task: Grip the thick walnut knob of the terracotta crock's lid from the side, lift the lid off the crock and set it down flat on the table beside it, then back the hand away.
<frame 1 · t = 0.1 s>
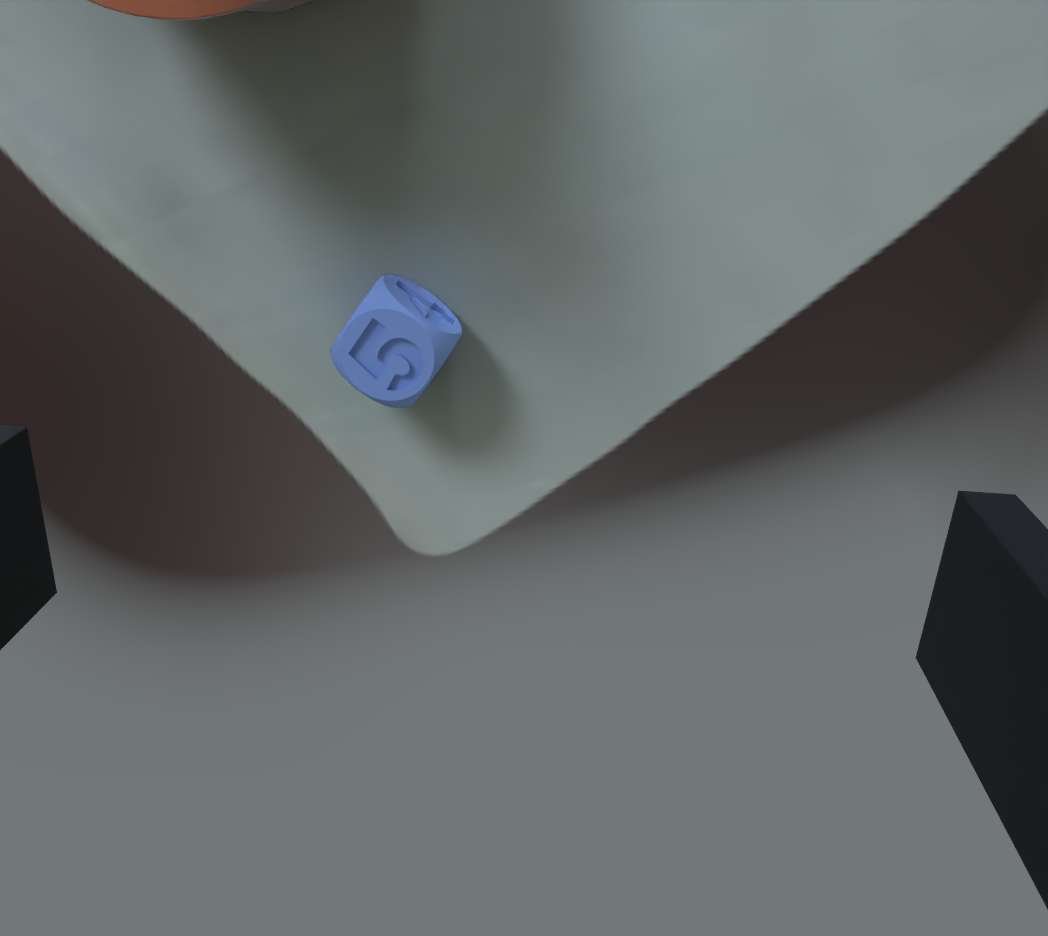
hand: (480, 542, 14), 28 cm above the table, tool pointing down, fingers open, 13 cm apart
decorative dice: (406, 327, 42), on the table
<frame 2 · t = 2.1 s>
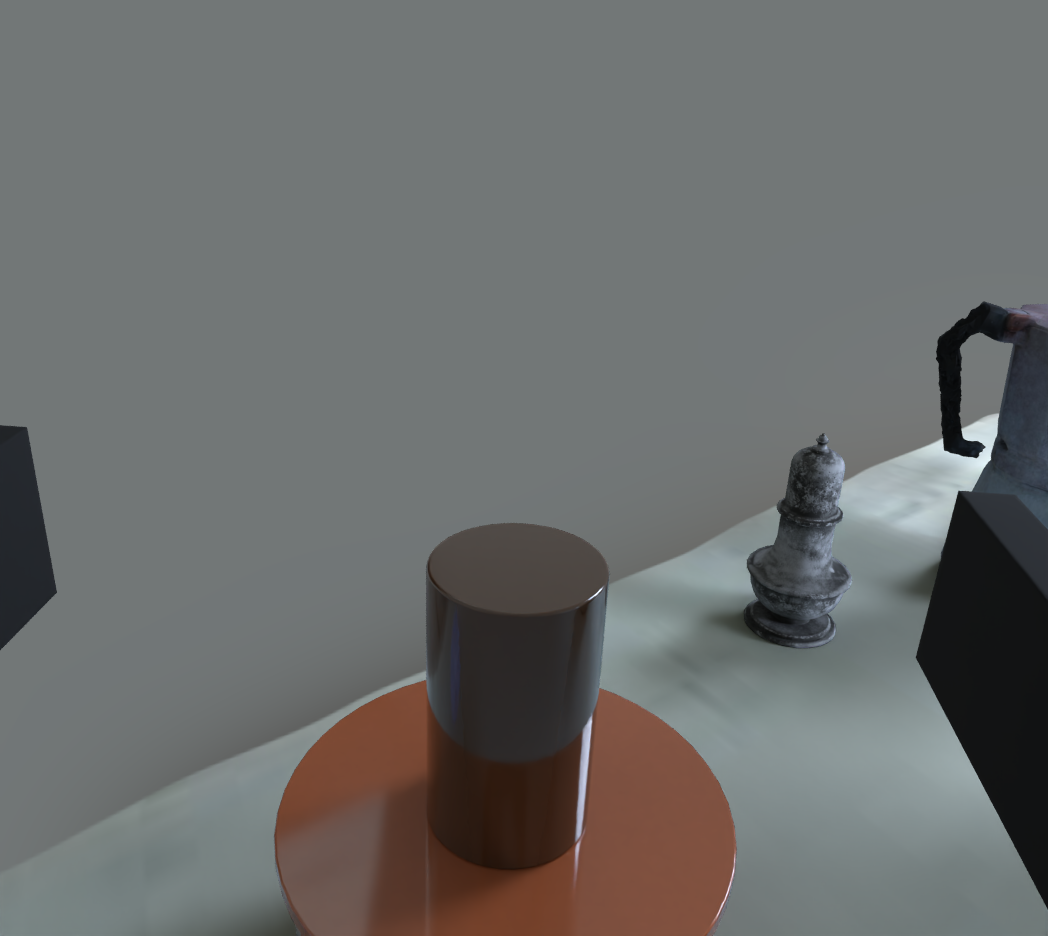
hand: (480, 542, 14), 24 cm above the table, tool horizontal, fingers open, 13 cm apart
moka pot: (1006, 589, 61), on the table
lid: (506, 820, 31), point 7 cm above the table, touching pot
salt shaker: (788, 624, 56), on the table
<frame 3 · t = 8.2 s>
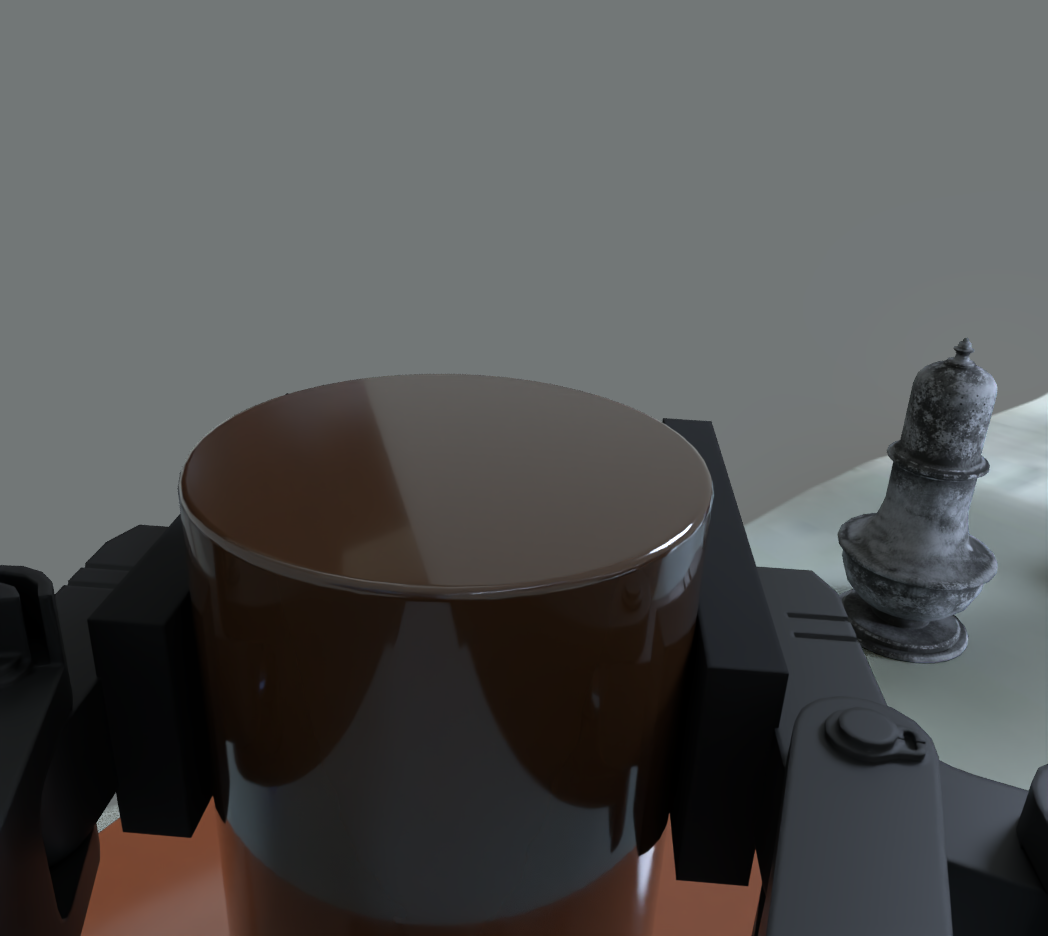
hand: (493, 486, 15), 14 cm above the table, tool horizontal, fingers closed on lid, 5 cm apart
salt shaker: (896, 628, 39), on the table
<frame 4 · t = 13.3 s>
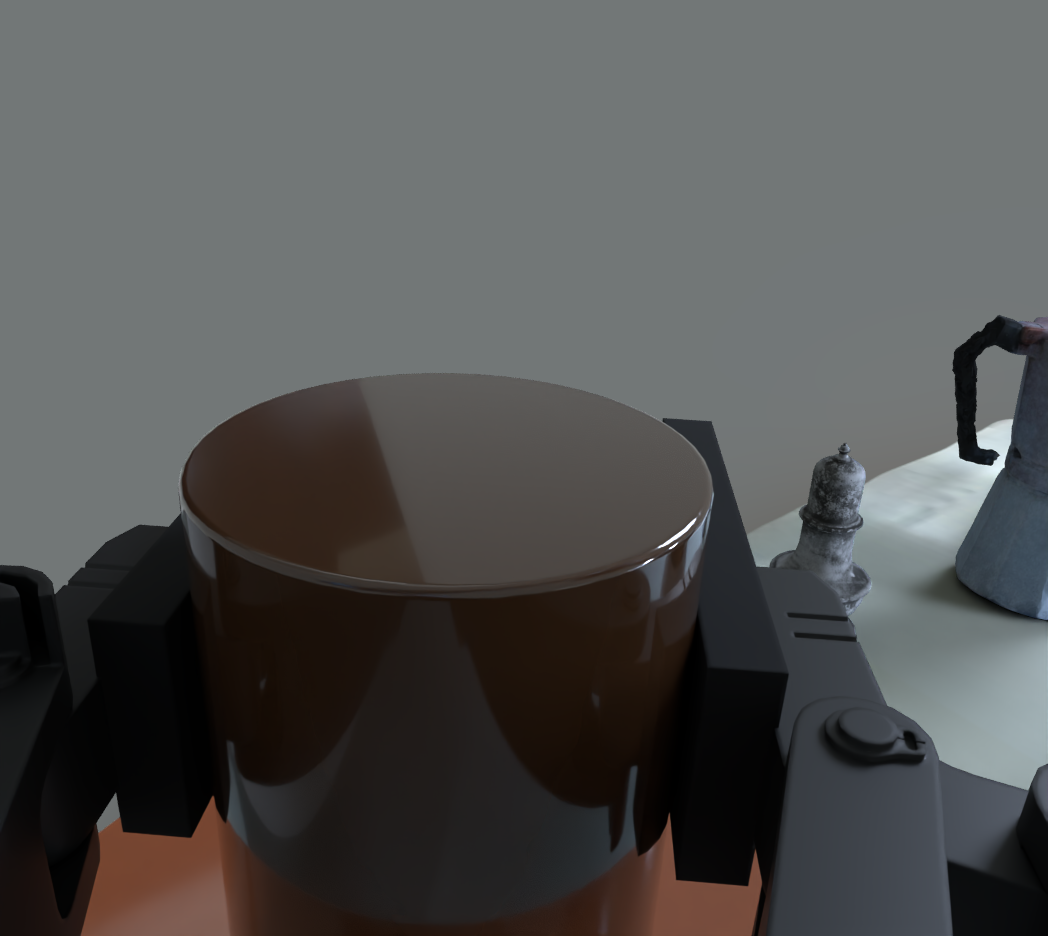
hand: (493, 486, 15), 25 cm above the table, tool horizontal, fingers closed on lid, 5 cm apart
moka pot: (1019, 592, 63), on the table
salt shaker: (809, 627, 58), on the table
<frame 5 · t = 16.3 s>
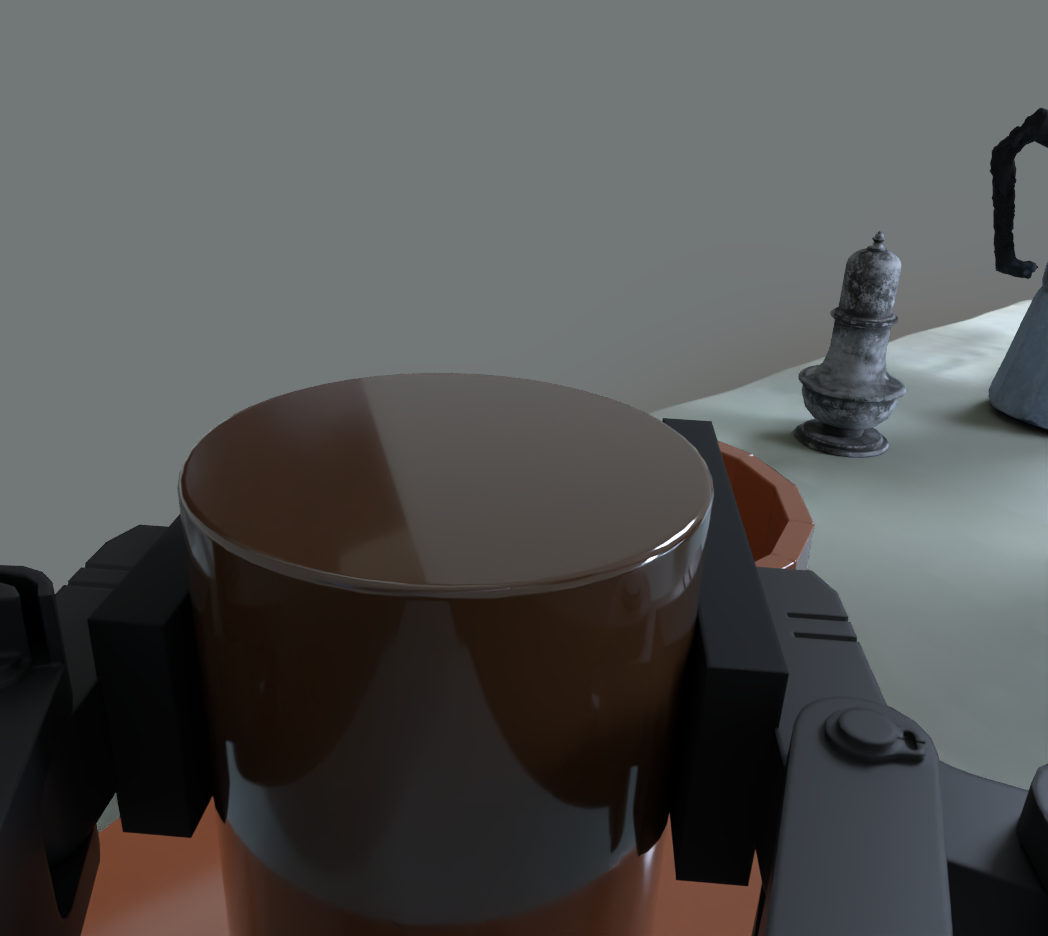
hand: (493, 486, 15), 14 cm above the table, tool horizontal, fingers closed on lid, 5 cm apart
pot: (577, 681, 34), on the table
salt shaker: (840, 442, 56), on the table
when the fingers open (7 cm above the table, at t = 18.4 s): lid stays where it is, point 1 cm above the table.
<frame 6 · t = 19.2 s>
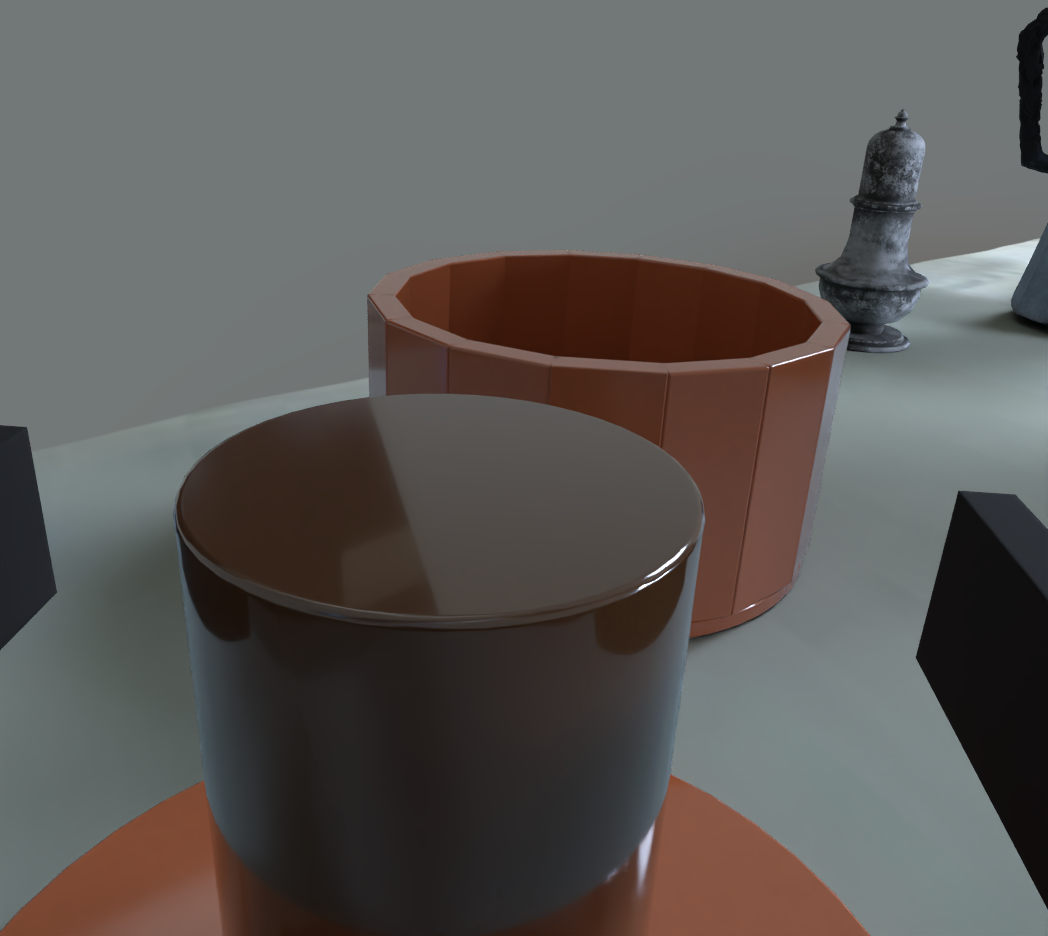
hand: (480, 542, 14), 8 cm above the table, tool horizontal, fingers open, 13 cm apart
pot: (587, 524, 31), on the table
salt shaker: (858, 341, 53), on the table
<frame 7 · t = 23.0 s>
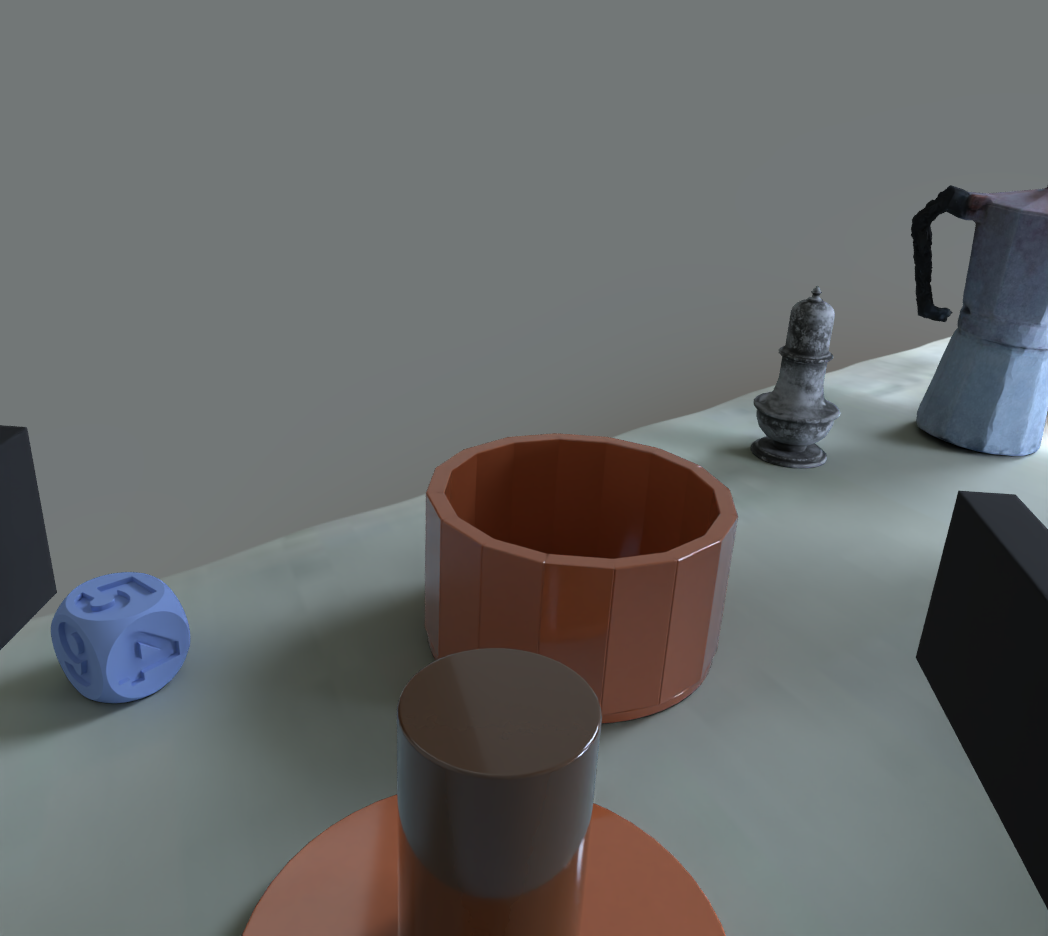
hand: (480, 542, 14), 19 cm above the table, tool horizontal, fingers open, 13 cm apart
moka pot: (971, 439, 73), on the table
decorative dice: (127, 679, 41), on the table
pot: (569, 632, 46), on the table
salt shaker: (787, 455, 68), on the table
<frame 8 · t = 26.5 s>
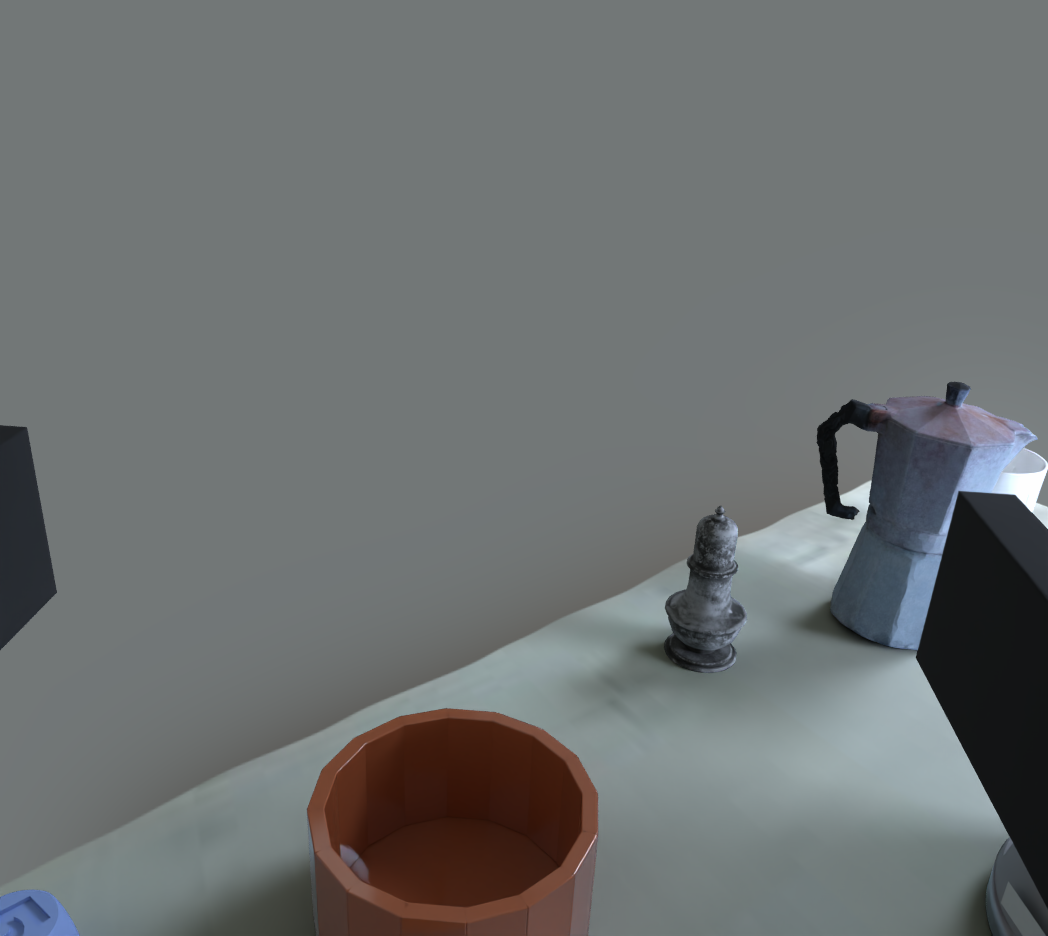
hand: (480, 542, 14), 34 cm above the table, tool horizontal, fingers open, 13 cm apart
white cup: (969, 559, 86), on the table
moka pot: (882, 623, 75), on the table
pot: (453, 914, 48), on the table
salt shaker: (699, 653, 71), on the table
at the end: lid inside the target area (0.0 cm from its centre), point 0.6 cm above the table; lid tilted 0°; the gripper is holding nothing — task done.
